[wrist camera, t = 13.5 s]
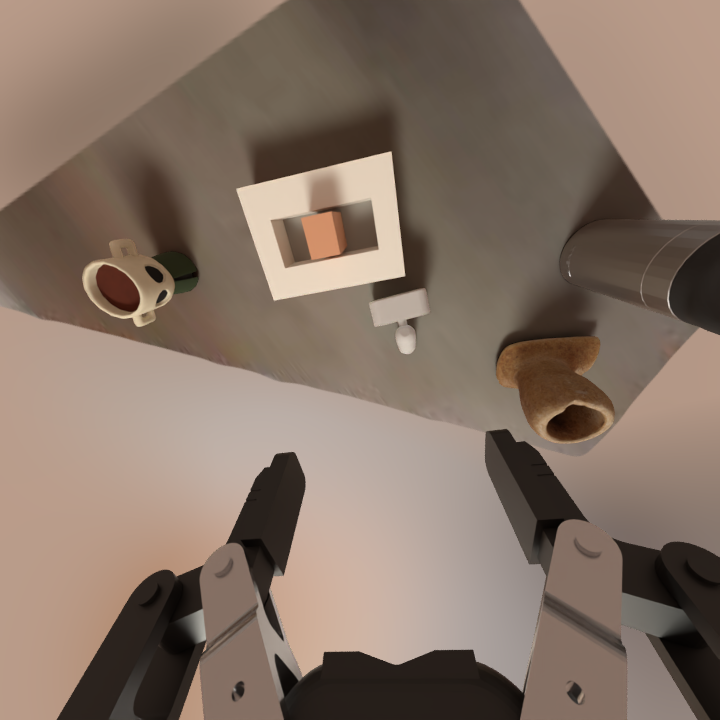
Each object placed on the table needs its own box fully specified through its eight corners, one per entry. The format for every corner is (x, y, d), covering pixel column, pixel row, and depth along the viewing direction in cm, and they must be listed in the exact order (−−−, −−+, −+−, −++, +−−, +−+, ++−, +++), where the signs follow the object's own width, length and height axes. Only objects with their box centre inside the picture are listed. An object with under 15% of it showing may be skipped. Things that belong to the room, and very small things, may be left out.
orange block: (340, 212, 39) (331, 211, 30) (347, 246, 41) (340, 254, 32) (317, 217, 39) (300, 218, 30) (324, 250, 41) (311, 260, 32)
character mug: (208, 306, 47) (155, 335, 35) (167, 302, 47) (99, 330, 35) (195, 236, 42) (128, 244, 30) (149, 232, 42) (63, 238, 30)
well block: (388, 160, 36) (391, 151, 31) (401, 268, 42) (405, 276, 37) (255, 192, 38) (236, 188, 33) (285, 290, 45) (274, 300, 40)
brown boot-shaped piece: (488, 393, 53) (528, 453, 39) (498, 337, 47) (547, 384, 34) (571, 389, 51) (640, 450, 38) (590, 331, 46) (679, 377, 33)
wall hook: (386, 357, 49) (385, 373, 39) (372, 300, 47) (367, 303, 37) (431, 346, 48) (441, 361, 38) (419, 288, 46) (427, 287, 36)
